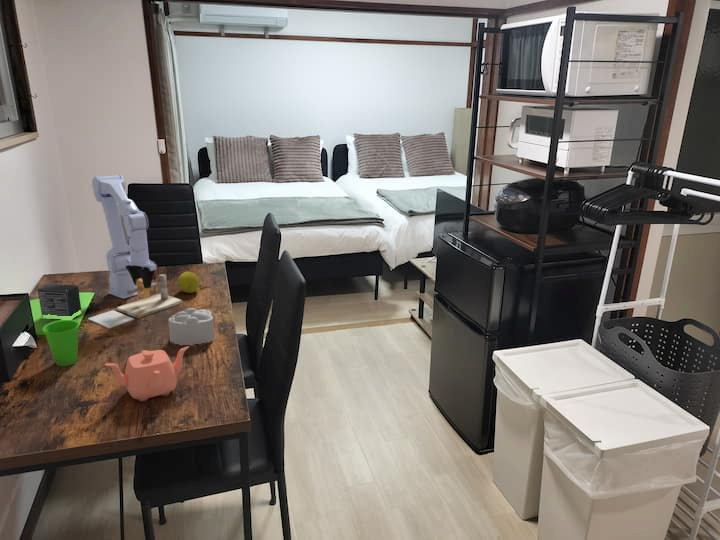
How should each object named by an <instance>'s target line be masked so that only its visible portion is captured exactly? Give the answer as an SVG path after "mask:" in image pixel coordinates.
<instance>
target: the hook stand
mask: <svg viewBox="0 0 720 540" xmlns="http://www.w3.org/2000/svg"><path fill="white" fill-rule="evenodd" d="M158 280H159V281H155V282H153V283H151V287H150V288H149V289H151V288H153V287H157V286H159V291H160V293H157V294H153V295H150V297H149V298H141V299H138V300H135V301H132V302H129V303H126V304H122V305H120V306H117V307H116V310H117V311H118V312H120V313H121V312H122V313H124V314H127V315H128V316H132V317H133V318H136V319H141V318H143V317H146V316H148V315H152V314H154V313H158V312H161V311H163V310H166V309H168V308H172V307H174V306H177V305H180V304H182V303H183V299H181V298H177V297H174V296H171V295H169V294H168V283H167V274H159V275H158ZM141 290H143V291H144V289H143V286H142V287H139V288H136V289H133V290H129V291H127V294H132V293H135V292H138V291H141Z"/></svg>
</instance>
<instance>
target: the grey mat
mask: <svg viewBox="0 0 720 540" xmlns="http://www.w3.org/2000/svg"><path fill="white" fill-rule="evenodd" d="M87 320H88V321H91V322H92V323H95V324H98V325H99V326H102V327H104V328H106V329H112V328H115V327H117V326H121V325H123V324H127V323H130V322H132V321H135V317H130V315H125V313H124V314H123V313H121V312H120V311H116V310H114V309H112V310H110V311H105V312H103V313H100V314H97V315H94V316H91V317H88V318H87Z"/></svg>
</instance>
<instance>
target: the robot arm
mask: <svg viewBox="0 0 720 540" xmlns="http://www.w3.org/2000/svg"><path fill="white" fill-rule="evenodd" d="M91 183H92V185H91V186H92V190H93V194H94V198H95V201H97V202H99V203H101V206H102V208H103V213H104V217H105V221H106V224H107V230H108V232H109V238H110V241H111V245H112V246H111V248H110V249H108V251H107V252H106V255H105V256H106V265H107V268H108V271H109V272H110V273H109V279H108V280H109V286H110V291H108V295H112V296H114V297H117V298H120V299H127V298H131V297H134V296H138V295H137V292H135V293H132V294H127V291H129V290H133V289H136V279H138V278H141V279H142V280H143V284H142V286H143V285H144V288H145V289H147V288H149V289H151V288H152V287H151V284H153V283H152V282H153V279H154V276H155V275H154V273H155V271H156V264H157V263H155V262H154V261H153V262H154V263H153V262H151V261H152V260H151V259H150V258H149V257H150V256H149V245H148V234H147V230H148V228H149V218H148V216H147V214H146V212H143V211H142V210H140V209H139V208H138V207H137V205H136V203H135V202H134V200H133V199H130V198H128V196H127V194H126V187H127V186H126V180H125V178H124V177H123V176H122V175H121V174H117V175H104V176H96V175H95V176H93V178H92V181H91ZM120 215H121V216H120ZM121 217H122V219H123V224H124V228H125V231H124V228H123V224H122V220H121ZM125 233H126V234H125ZM125 235H126V236H127V237H128V244H127V241H126V236H125ZM142 267H144V269H142ZM156 272H157V271H156ZM153 275H154V276H153ZM150 287H151V288H150Z"/></svg>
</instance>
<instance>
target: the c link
mask: <svg viewBox="0 0 720 540" xmlns="http://www.w3.org/2000/svg"><path fill="white" fill-rule="evenodd" d="M139 287H143V289H144V290H141V291H138V292H137V295H136V296H138V297H142V299H144V298H149V297H150V296H151V292H150V288H147V289H145V288H144V285H143V280H142V277H141V278H138V279H136V288H139Z"/></svg>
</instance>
